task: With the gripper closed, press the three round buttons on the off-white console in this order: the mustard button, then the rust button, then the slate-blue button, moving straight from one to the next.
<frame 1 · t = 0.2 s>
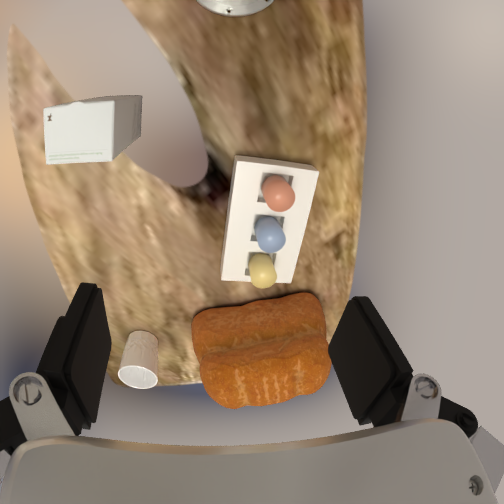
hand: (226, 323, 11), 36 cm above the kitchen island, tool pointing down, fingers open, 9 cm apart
slate button: (269, 234, 45), point 5 cm above the kitchen island, slide at 0.0 cm
bread: (257, 325, 63), on the kitchen island
mustard button: (262, 270, 49), point 5 cm above the kitchen island, slide at 0.0 cm
console: (263, 219, 50), on the kitchen island
skincare box: (117, 115, 38), on the kitchen island
white cup: (143, 339, 61), on the kitchen island
rust button: (277, 193, 42), point 5 cm above the kitchen island, slide at 0.0 cm
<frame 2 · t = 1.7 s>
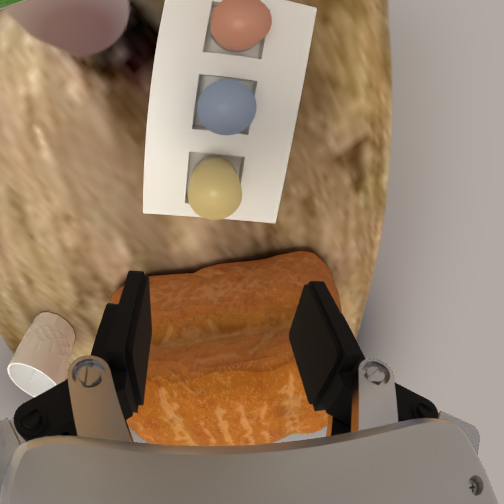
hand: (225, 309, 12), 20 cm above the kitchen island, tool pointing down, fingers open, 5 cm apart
slate button: (225, 105, 21), point 5 cm above the kitchen island, slide at 0.0 cm
bread: (223, 310, 38), on the kitchen island
mustard button: (214, 186, 24), point 5 cm above the kitchen island, slide at 0.0 cm
console: (222, 102, 25), on the kitchen island
white cup: (55, 328, 36), on the kitchen island
rust button: (239, 25, 17), point 5 cm above the kitchen island, slide at 0.0 cm
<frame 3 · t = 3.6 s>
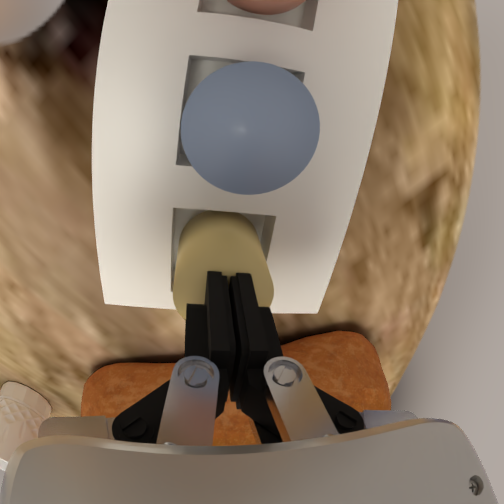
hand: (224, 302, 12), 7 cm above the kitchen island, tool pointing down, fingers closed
slate button: (244, 121, 10), point 5 cm above the kitchen island, slide at 0.0 cm
bread: (232, 393, 27), on the kitchen island
mustard button: (220, 268, 14), point 5 cm above the kitchen island, slide at -0.7 cm, touching gripper
console: (232, 109, 14), on the kitchen island
white cup: (27, 396, 25), on the kitchen island
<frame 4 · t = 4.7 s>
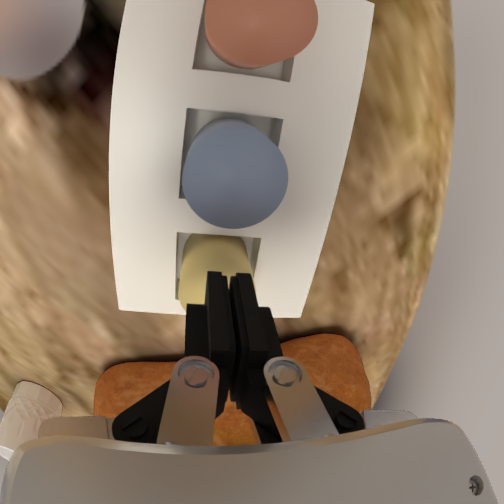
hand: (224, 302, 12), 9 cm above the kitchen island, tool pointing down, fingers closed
slate button: (231, 167, 13), point 5 cm above the kitchen island, slide at 0.0 cm
bread: (230, 389, 30), on the kitchen island
mustard button: (215, 273, 17), point 4 cm above the kitchen island, slide at -1.4 cm
console: (225, 145, 17), on the kitchen island
white cup: (40, 395, 28), on the kitchen island
rust button: (254, 23, 10), point 5 cm above the kitchen island, slide at 0.0 cm
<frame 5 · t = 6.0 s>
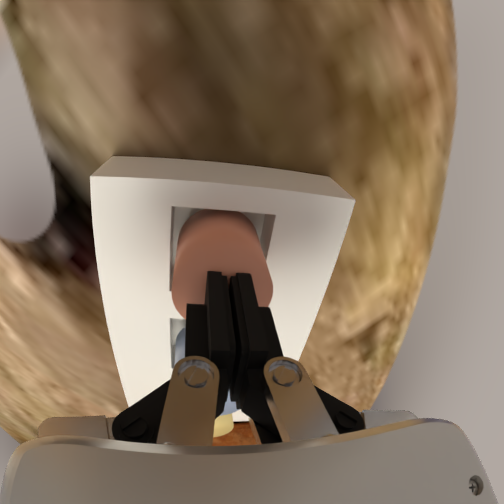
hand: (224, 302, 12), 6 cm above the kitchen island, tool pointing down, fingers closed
slate button: (210, 369, 16), point 5 cm above the kitchen island, slide at 0.0 cm
bread: (221, 443, 34), on the kitchen island
mustard button: (204, 404, 21), point 4 cm above the kitchen island, slide at -1.4 cm
console: (207, 308, 21), on the kitchen island
rust button: (219, 266, 14), point 4 cm above the kitchen island, slide at -0.8 cm, touching gripper
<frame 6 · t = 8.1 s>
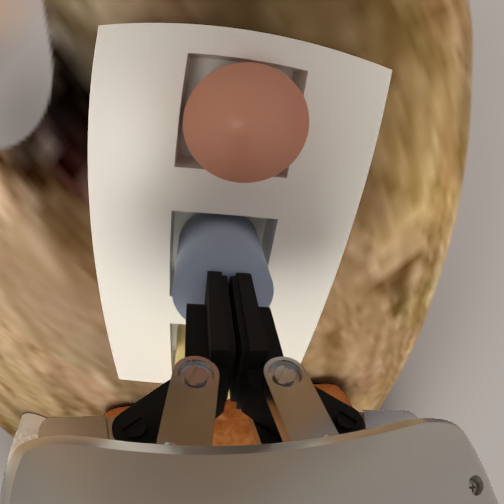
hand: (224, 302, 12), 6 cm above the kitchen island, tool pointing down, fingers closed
slate button: (220, 267, 14), point 4 cm above the kitchen island, slide at -1.1 cm, touching gripper
bread: (226, 425, 30), on the kitchen island
mustard button: (209, 356, 17), point 4 cm above the kitchen island, slide at -1.4 cm
console: (216, 226, 17), on the kitchen island
white cup: (44, 424, 28), on the kitchen island
rust button: (240, 116, 11), point 4 cm above the kitchen island, slide at -1.4 cm
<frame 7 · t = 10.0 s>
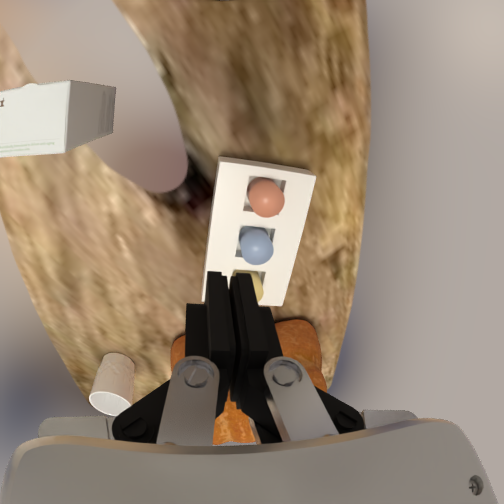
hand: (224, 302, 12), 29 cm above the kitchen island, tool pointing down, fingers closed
slate button: (255, 243, 40), point 4 cm above the kitchen island, slide at -1.4 cm
bread: (244, 353, 55), on the kitchen island
mustard button: (247, 285, 43), point 4 cm above the kitchen island, slide at -1.4 cm
console: (251, 231, 43), on the kitchen island
skincare box: (88, 109, 32), on the kitchen island
white cup: (118, 363, 53), on the kitchen island
rust button: (264, 196, 37), point 4 cm above the kitchen island, slide at -1.4 cm
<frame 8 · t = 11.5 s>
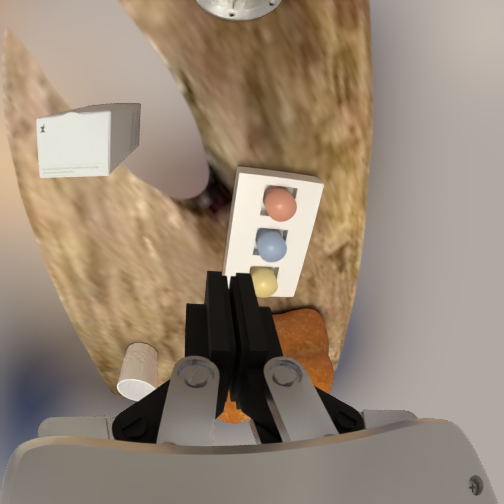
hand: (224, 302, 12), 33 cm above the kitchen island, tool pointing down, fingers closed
slate button: (270, 243, 45), point 4 cm above the kitchen island, slide at -1.4 cm
bread: (258, 339, 61), on the kitchen island
mustard button: (262, 279, 48), point 4 cm above the kitchen island, slide at -1.4 cm
console: (266, 231, 48), on the kitchen island
skincare box: (114, 123, 37), on the kitchen island
white cup: (142, 352, 59), on the kitchen island
rust button: (279, 202, 42), point 4 cm above the kitchen island, slide at -1.4 cm
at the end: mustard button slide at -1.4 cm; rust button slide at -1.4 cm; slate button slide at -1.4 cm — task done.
